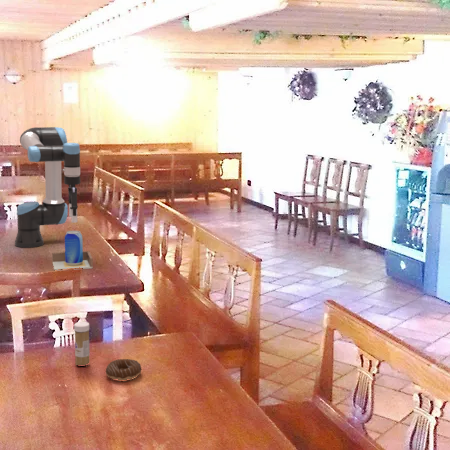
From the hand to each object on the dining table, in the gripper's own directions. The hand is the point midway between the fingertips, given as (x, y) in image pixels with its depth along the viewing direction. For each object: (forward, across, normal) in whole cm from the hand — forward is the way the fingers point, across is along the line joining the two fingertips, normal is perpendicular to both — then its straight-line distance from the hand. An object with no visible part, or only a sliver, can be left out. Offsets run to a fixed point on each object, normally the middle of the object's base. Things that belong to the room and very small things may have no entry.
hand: (73, 219), depth 312 cm
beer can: (+22, 0, 0) cm, 22 cm away
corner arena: (+23, 0, -1) cm, 23 cm away
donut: (+22, +132, +3) cm, 134 cm away
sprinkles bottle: (+22, +122, -8) cm, 124 cm away
